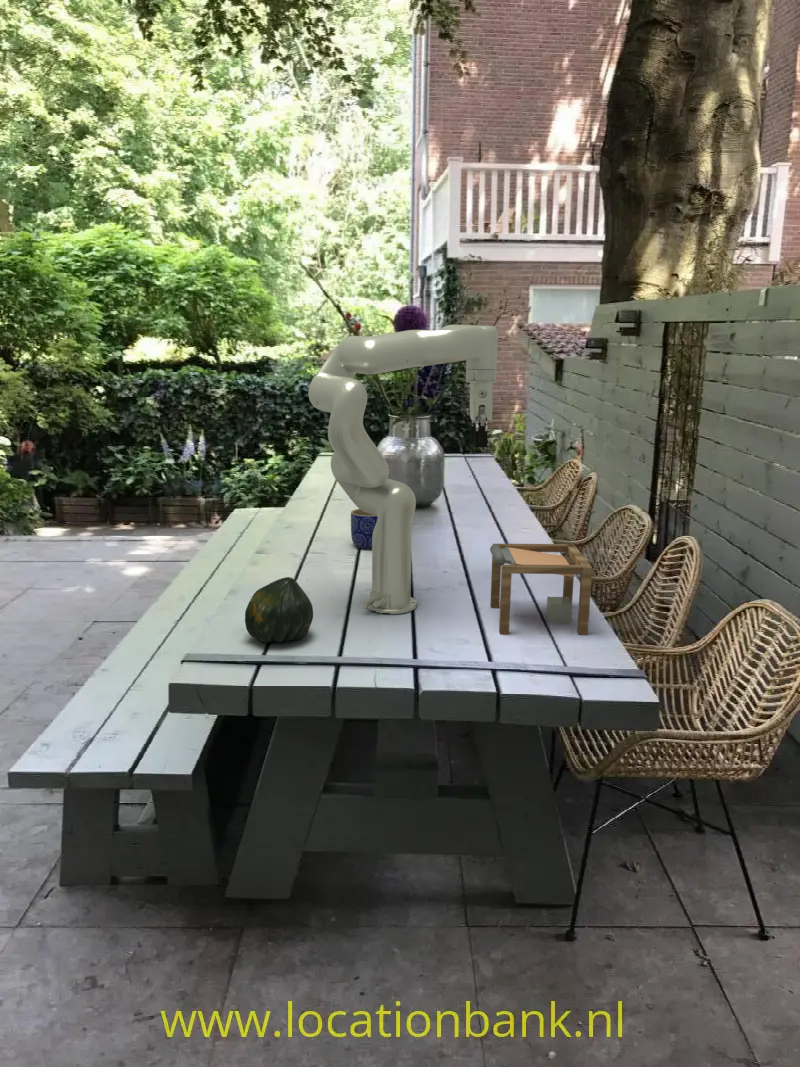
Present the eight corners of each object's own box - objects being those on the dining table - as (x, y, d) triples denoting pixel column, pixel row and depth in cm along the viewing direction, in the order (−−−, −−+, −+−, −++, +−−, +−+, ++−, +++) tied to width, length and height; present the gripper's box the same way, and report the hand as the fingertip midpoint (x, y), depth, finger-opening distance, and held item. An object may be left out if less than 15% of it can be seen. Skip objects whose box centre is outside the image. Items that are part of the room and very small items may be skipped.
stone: (549, 623, 204) (570, 623, 204) (550, 603, 203) (572, 603, 203) (546, 616, 209) (566, 616, 209) (547, 596, 208) (567, 596, 208)
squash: (226, 611, 194) (252, 572, 185) (280, 599, 204) (307, 562, 195) (253, 664, 189) (281, 627, 180) (307, 649, 199) (336, 613, 190)
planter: (387, 542, 273) (388, 508, 270) (383, 552, 262) (384, 516, 260) (353, 541, 274) (353, 507, 271) (348, 550, 263) (348, 515, 261)
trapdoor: (573, 579, 197) (575, 570, 196) (495, 567, 196) (497, 557, 195) (561, 562, 210) (563, 553, 210) (488, 550, 210) (490, 541, 209)
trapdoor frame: (587, 634, 197) (592, 567, 193) (500, 634, 197) (502, 567, 193) (570, 605, 216) (573, 544, 212) (490, 605, 216) (492, 543, 212)
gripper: (500, 379, 208) (497, 449, 212) (492, 373, 225) (489, 439, 229) (469, 378, 208) (466, 449, 212) (463, 373, 225) (461, 439, 229)
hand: (478, 444), depth 221 cm, fingers open, 9 cm apart
